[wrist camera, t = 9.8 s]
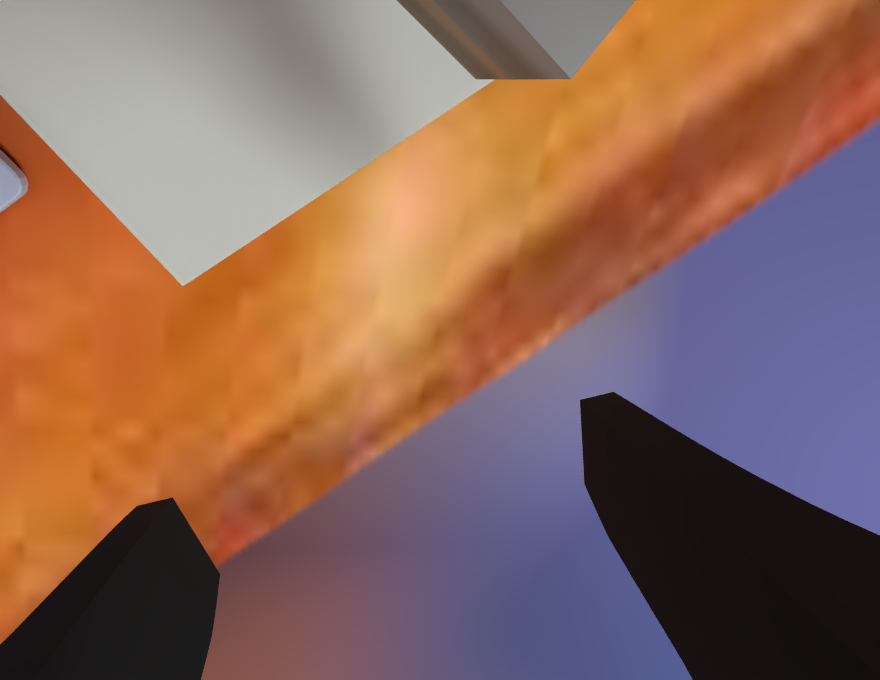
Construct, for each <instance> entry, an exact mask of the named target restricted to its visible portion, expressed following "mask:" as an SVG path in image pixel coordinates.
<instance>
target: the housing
mask: <svg viewBox="0 0 880 680" xmlns="http://www.w3.org/2000/svg"><path fill="white" fill-rule="evenodd" d="M397 1H398V2H399V3H400V4H401V5H402V6H403V7H404V8H405V9H406V10H407V11H408V12H409V13H410V14H411V15H412V16H413V17H414V18H415V19H416V20H417V21H418V22H419V23H420V24H421V25H422V26H423V27H424V28H425V29H426V30H427V31H428V32H429V33H430V34H431V35H432V36H433V37H434V38H435V39H436V40H437V41H438V42H439V43H440V44H441V45H442V46H443V47H444V48H445V49H446V50H447V51H448V52H449V53H450V54H451V55H452V56H453V57H454V58H455V59H456V60H457V61H458V62H459V63H460V64H461V65H462V66H463V67H464V68H465V69H466V70H467V71H468V72H469V73H470V74H471V75H472V76H473V77H474V78H475V79H571V78H572V77H573V76H574V75H575V73H576V72H577V71H578V70H579V69H580V67H581V66H582V65H583V64H584V62H585V61H586V60H587V59H588V58H589V56H590V55H591V54H592V53H593V51H594V50H595V49H596V48H597V47H598V45H599V44H600V43H601V42H602V40H603V39H604V38H605V37H606V36H607V34H608V33H609V32H610V31H611V29H612V28H613V27H614V26H615V25H616V23H617V22H618V21H619V20H620V18H621V17H622V16H623V15H624V14H625V12H626V11H627V10H628V9H629V7H630V6H631V5H632V4H633V3H634V1H635V0H397Z"/></svg>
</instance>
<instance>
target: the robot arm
mask: <svg viewBox="0 0 880 680" xmlns="http://www.w3.org/2000/svg"><path fill="white" fill-rule="evenodd" d="M27 191H28V181H27V178H26V176H25V175H24V173H23V172H22V171H21V170H20V169H19V168H18V167H17V166H16V165H15V164H14V163H13V162H12V161H11V160H10V159H9V158H8V157H7V156H6V155H5V154H4V153H3V152H2V151H1V150H0V212H2V211H3V210H5V209H6V208H7V207H9V206H10V205H11V204H13V203H14V202H15V201H17V200H18V199H20V198H21V197H22V196H24V194H25V193H26V192H27ZM580 407H581V426H582V444H583V460H584V461H583V463H584V482H585V486H586V488H587V491H588V493H589V495H590V497H591V500H592V502H593V504H594V506H595V508H596V511H597V513H598V516H599V518H600V520H601V522H602V524H603V526H604V528H605V530H606V533H607V535H608V537H609V539H610V540H611V542H612V544H613V545H614V547H615V549H616V550H617V552H618V554H619V556H620V557H621V559H622V561H623V562H624V564H625V566H626V567H627V569H628V571H629V572H630V574H631V576H632V578H633V579H634V581H635V583H636V584H637V586H638V588H639V589H640V591H641V593H642V594H643V596H644V598H645V599H646V601H647V603H648V604H649V606H650V608H651V609H652V611H653V613H654V614H655V616H656V618H657V619H658V621H659V623H660V624H661V626H662V628H663V629H664V631H665V633H666V634H667V636H668V638H669V639H670V641H671V643H672V644H673V646H674V647H675V649H676V651H677V653H678V654H679V656H680V658H681V659H682V661H683V663H684V664H685V666H686V668H687V670H688V672H689V674H690V675H691V677H692V679H693V680H880V535H877V534H875V533H873V532H871V531H868V530H866V529H864V528H862V527H859V526H857V525H855V524H853V523H850V522H848V521H845V520H844V519H841V518H839V517H837V516H835V515H833V514H831V513H829V512H827V511H825V510H823V509H820V508H818V507H816V506H814V505H812V504H810V503H808V502H806V501H804V500H802V499H800V498H798V497H796V496H794V495H792V494H790V493H788V492H786V491H785V490H783V489H781V488H779V487H777V486H775V485H773V484H771V483H769V482H767V481H765V480H763V479H761V478H759V477H758V476H756V475H754V474H752V473H750V472H748V471H746V470H745V469H743V468H741V467H739V466H737V465H735V464H734V463H732V462H730V461H728V460H727V459H725V458H723V457H721V456H719V455H717V454H716V453H714V452H713V451H711V450H709V449H707V448H706V447H704V446H702V445H700V444H698V443H697V442H695V441H694V440H692V439H690V438H689V437H687V436H685V435H683V434H682V433H680V432H678V431H677V430H675V429H673V428H672V427H670V426H669V425H667V424H665V423H664V422H662V421H660V420H659V419H657V418H655V417H654V416H652V415H650V414H649V413H647V412H646V411H644V410H642V409H641V408H639V407H637V406H636V405H634V404H633V403H631V402H629V401H628V400H626V399H624V398H622V397H621V396H619V395H618V394H616V393H614V392H612V393H607V394H604V395H599V396H595V397H591V398H587V399H582V400H580ZM219 578H220V574H219V572H218V570H217V569H216V567H215V565H214V564H213V562H212V561H211V559H210V557H209V556H208V554H207V553H206V551H205V549H204V548H203V546H202V544H201V543H200V541H199V540H198V538H197V536H196V535H195V533H194V531H193V530H192V528H191V527H190V525H189V523H188V522H187V520H186V518H185V517H184V515H183V514H182V512H181V510H180V509H179V507H178V506H177V504H176V502H175V501H174V499H173V498H169V499H165V500H160V501H156V502H152V503H148V504H144V505H140V506H137V507H136V508H134V509H133V510H132V511H131V512H130V513H129V514H128V515H127V516H126V517H125V518H124V519H123V520H122V521H121V522H120V523H118V524H117V525H116V526H115V527H114V528H113V529H112V530H111V531H110V532H109V533H108V534H107V536H106V537H105V538H104V539H103V540H102V541H101V542H100V543H99V544H98V545H97V546H96V547H95V548H94V549H93V550H92V551H91V552H90V553H89V554H88V555H87V556H86V557H85V558H84V559H83V560H82V561H81V562H80V563H79V564H78V565H77V567H76V568H75V569H74V570H73V571H72V572H71V573H70V574H69V575H68V576H67V577H66V578H65V579H64V580H63V581H62V582H61V583H60V584H59V585H58V586H57V587H56V588H55V589H54V590H53V591H52V592H51V593H50V595H49V596H48V597H47V598H46V599H45V600H44V601H43V602H42V603H41V604H40V605H39V606H38V607H37V608H36V609H35V610H34V611H33V612H32V613H31V614H30V615H29V616H28V617H27V618H26V619H25V620H24V621H23V622H22V623H21V624H20V626H19V627H18V628H17V629H16V630H15V631H14V632H13V633H12V634H11V635H10V636H9V637H8V638H7V639H6V640H5V641H4V642H3V643H2V644H1V645H0V680H201V676H202V672H203V669H204V665H205V661H206V657H207V653H208V649H209V645H210V641H211V637H212V631H213V624H214V618H215V611H216V602H217V595H218V586H219Z"/></svg>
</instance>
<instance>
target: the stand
mask: <svg viewBox="0 0 880 680" xmlns="http://www.w3.org/2000/svg"><path fill="white" fill-rule="evenodd" d="M493 80H495V79H475V78H474V77H473V76H472V75H471V74H470V73H469V72H468V71H467V70H466V69H465V68H464V67H463V66H462V65H461V64H460V63H459V62H458V61H457V60H456V59H455V58H454V57H453V56H452V55H451V54H450V53H449V52H448V51H447V50H446V49H445V48H444V47H443V46H442V45H441V44H440V43H439V42H438V41H437V40H436V39H435V38H434V37H433V36H432V35H431V34H430V33H429V32H428V31H427V30H426V29H425V28H424V27H423V26H422V25H421V24H420V23H419V22H418V21H417V20H416V19H415V18H414V17H413V16H412V15H411V14H410V13H409V12H408V11H407V10H406V9H405V8H404V7H403V6H402V5H401V4H400V3H399V2H398V1H397V0H0V95H1V96H2V97H3V98H4V99H5V100H6V101H7V103H8V104H9V105H10V106H11V107H12V108H13V109H14V110H15V111H16V112H17V113H18V114H19V115H20V116H21V117H22V118H23V119H24V120H25V121H26V122H27V123H28V125H29V126H30V127H31V128H32V129H33V130H34V131H35V132H36V133H37V134H38V135H39V136H40V137H41V138H42V139H43V140H44V141H45V142H46V143H47V144H48V145H49V147H50V148H51V149H52V150H53V151H54V152H55V153H56V154H57V155H58V156H59V157H60V158H61V159H62V160H63V161H64V162H65V163H66V164H67V165H68V166H69V167H70V169H71V170H72V171H73V172H74V173H75V174H76V175H77V176H78V177H79V178H80V179H81V180H82V181H83V182H84V183H85V184H86V185H87V186H88V187H89V188H90V189H91V191H92V192H93V193H94V194H95V195H96V196H97V197H98V198H99V199H100V200H101V201H102V202H103V203H104V204H105V205H106V206H107V207H108V208H109V209H110V210H111V211H112V213H113V214H114V215H115V216H116V217H117V218H118V219H119V220H120V221H121V222H122V223H123V224H124V225H125V226H126V227H127V228H128V229H129V230H130V231H131V232H132V233H133V235H134V236H135V237H136V238H137V239H138V240H139V241H140V242H141V243H142V244H143V245H144V246H145V247H146V248H147V249H148V250H149V251H150V252H151V253H152V254H153V255H154V257H155V258H156V259H157V260H158V261H159V262H160V263H161V264H162V265H163V266H164V267H165V268H166V269H167V270H168V271H169V272H170V273H171V274H172V275H173V276H174V277H175V279H176V280H177V281H178V282H179V283H180V284H181V285H182V286H184V285H186V284H187V283H189V282H190V281H192V280H193V279H195V278H196V277H198V276H199V275H201V274H202V273H204V272H205V271H207V270H208V269H210V268H211V267H213V266H214V265H216V264H217V263H219V262H220V261H222V260H223V259H225V258H226V257H228V256H229V255H231V254H232V253H234V252H235V251H237V250H238V249H240V248H241V247H243V246H244V245H246V244H247V243H249V242H250V241H252V240H254V239H255V238H257V237H258V236H260V235H261V234H263V233H264V232H266V231H267V230H269V229H270V228H272V227H273V226H275V225H276V224H278V223H279V222H281V221H282V220H284V219H285V218H287V217H288V216H290V215H291V214H293V213H294V212H296V211H297V210H299V209H300V208H302V207H303V206H305V205H306V204H308V203H309V202H311V201H312V200H314V199H315V198H317V197H318V196H320V195H321V194H323V193H324V192H326V191H327V190H329V189H330V188H332V187H333V186H335V185H336V184H338V183H339V182H341V181H343V180H344V179H346V178H347V177H349V176H350V175H352V174H353V173H355V172H356V171H358V170H359V169H361V168H362V167H364V166H365V165H367V164H368V163H370V162H371V161H373V160H374V159H376V158H377V157H379V156H380V155H382V154H383V153H385V152H386V151H388V150H389V149H391V148H392V147H394V146H395V145H397V144H398V143H400V142H401V141H403V140H404V139H406V138H407V137H409V136H410V135H412V134H413V133H415V132H416V131H418V130H419V129H421V128H422V127H424V126H425V125H427V124H428V123H430V122H431V121H433V120H435V119H436V118H438V117H439V116H441V115H442V114H444V113H445V112H447V111H448V110H450V109H451V108H453V107H454V106H456V105H457V104H459V103H460V102H462V101H463V100H465V99H466V98H468V97H469V96H471V95H472V94H474V93H475V92H477V91H478V90H480V89H481V88H483V87H484V86H486V85H487V84H489V83H490V82H492V81H493Z"/></svg>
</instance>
